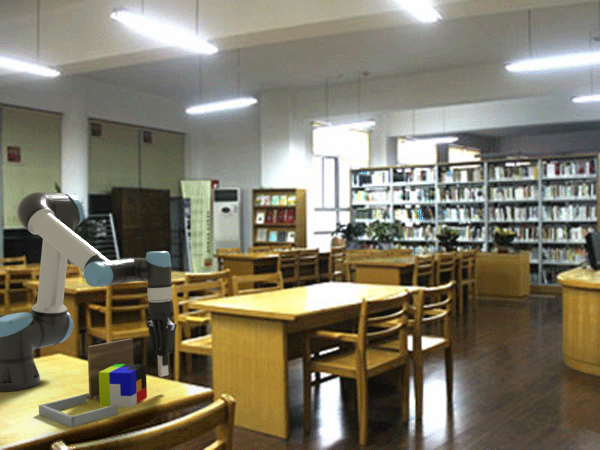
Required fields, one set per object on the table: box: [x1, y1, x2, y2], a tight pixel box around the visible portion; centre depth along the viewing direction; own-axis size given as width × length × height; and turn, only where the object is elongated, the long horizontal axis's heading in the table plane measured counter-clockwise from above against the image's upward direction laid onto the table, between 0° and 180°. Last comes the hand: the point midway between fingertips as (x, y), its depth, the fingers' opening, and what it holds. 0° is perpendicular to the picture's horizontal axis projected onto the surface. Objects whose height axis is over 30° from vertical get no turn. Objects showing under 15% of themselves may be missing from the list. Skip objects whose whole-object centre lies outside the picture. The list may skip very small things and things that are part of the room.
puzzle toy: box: [99, 364, 148, 408], centre depth 184 cm, size 10×10×10 cm
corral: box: [38, 393, 119, 428], centre depth 173 cm, size 18×14×2 cm
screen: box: [85, 337, 135, 402], centre depth 192 cm, size 6×15×16 cm, turn 138°
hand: (163, 375), depth 194 cm, fingers closed
